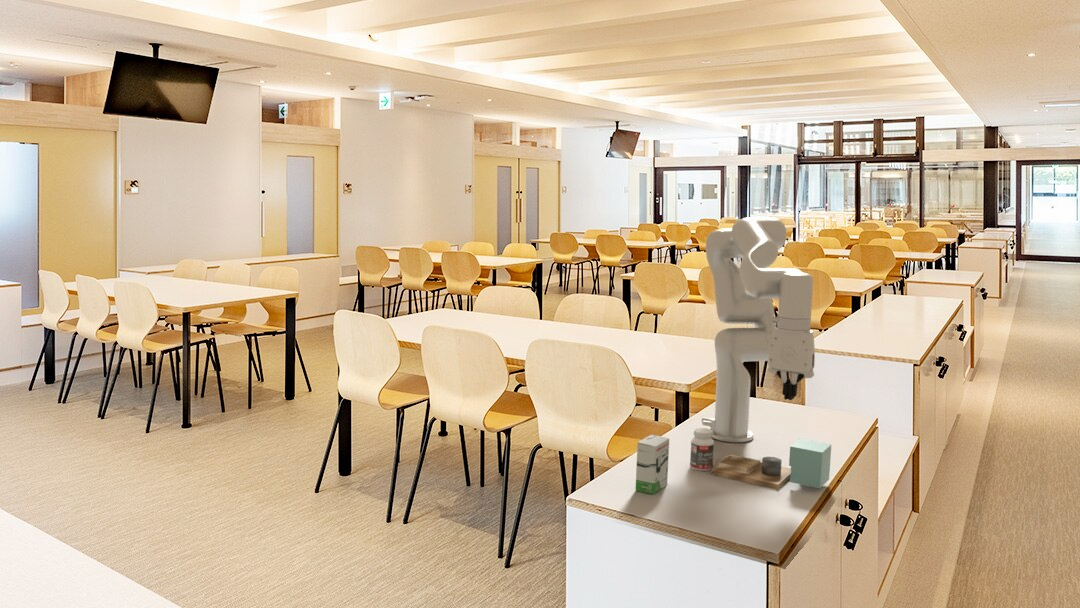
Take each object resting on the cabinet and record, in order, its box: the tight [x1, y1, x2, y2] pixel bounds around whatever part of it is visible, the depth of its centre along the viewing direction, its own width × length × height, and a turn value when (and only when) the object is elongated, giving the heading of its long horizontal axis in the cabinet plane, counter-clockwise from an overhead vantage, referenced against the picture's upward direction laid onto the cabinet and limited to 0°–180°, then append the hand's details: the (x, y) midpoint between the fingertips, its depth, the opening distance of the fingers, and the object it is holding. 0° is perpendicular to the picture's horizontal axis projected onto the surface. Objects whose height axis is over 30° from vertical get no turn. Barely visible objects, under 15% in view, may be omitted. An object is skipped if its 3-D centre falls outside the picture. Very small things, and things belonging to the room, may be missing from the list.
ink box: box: [635, 434, 670, 495], centre depth 198 cm, size 9×5×12 cm, turn 148°
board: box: [710, 453, 791, 490], centre depth 209 cm, size 17×13×5 cm
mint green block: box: [788, 438, 832, 489], centre depth 201 cm, size 8×8×9 cm
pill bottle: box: [689, 427, 715, 472], centre depth 212 cm, size 6×6×10 cm
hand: (789, 398), depth 202 cm, fingers closed
